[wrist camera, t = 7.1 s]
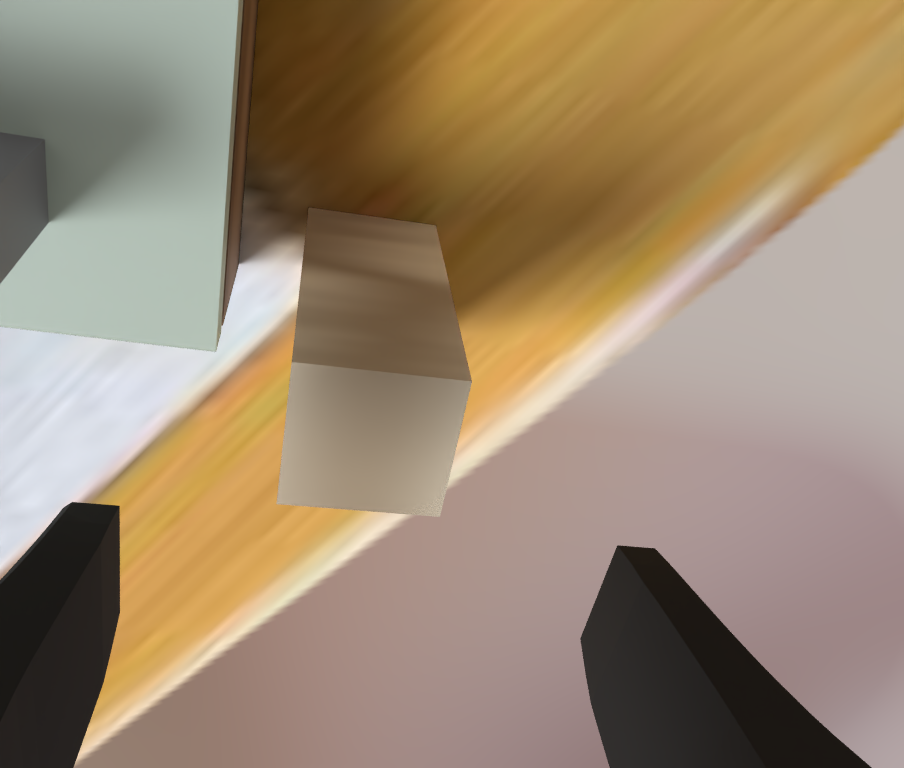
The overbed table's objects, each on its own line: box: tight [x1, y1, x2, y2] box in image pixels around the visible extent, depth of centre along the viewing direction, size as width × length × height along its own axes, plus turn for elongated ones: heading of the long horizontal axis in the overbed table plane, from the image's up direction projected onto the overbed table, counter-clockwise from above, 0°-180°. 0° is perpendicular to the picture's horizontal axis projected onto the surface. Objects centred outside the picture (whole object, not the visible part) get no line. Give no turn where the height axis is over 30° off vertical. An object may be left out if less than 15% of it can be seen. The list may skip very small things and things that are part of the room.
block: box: [277, 207, 472, 517], centre depth 18 cm, size 3×3×7 cm
